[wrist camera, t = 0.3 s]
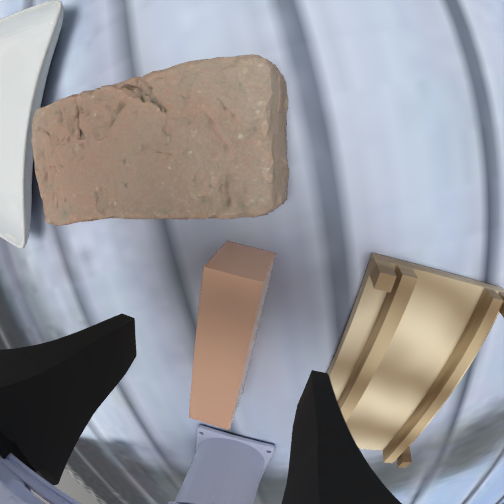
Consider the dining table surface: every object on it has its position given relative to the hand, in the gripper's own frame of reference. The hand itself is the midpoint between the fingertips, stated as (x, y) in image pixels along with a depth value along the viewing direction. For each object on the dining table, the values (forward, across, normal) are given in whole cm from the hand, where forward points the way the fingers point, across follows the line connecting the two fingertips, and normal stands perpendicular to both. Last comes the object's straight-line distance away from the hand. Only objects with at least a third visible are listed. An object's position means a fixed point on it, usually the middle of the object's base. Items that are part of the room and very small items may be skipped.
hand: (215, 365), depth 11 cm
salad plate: (+10, +29, -9) cm, 32 cm away
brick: (+10, +8, -7) cm, 14 cm away
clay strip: (+10, +1, +5) cm, 11 cm away
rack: (+10, -12, +6) cm, 17 cm away
